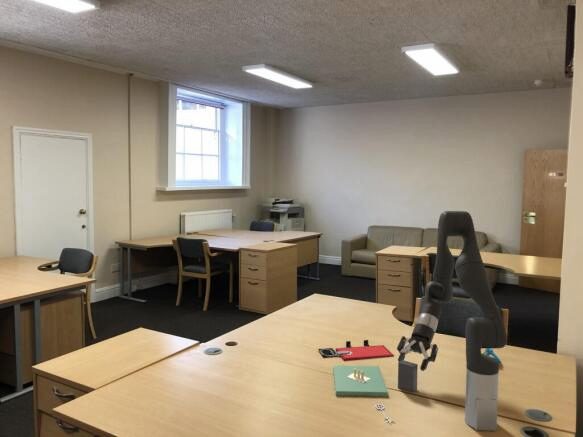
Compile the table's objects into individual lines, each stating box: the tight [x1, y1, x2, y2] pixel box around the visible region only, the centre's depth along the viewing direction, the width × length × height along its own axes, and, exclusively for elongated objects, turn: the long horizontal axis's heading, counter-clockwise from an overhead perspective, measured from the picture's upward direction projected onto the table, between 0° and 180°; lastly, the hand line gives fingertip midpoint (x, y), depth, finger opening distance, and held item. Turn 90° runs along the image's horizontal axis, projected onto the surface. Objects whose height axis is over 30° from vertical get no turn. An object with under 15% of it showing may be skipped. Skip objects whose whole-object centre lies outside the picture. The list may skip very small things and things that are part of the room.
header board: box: [332, 364, 389, 397], centre depth 169 cm, size 22×18×4 cm
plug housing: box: [397, 359, 419, 394], centre depth 163 cm, size 3×6×10 cm, turn 49°
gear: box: [481, 348, 501, 363], centre depth 189 cm, size 11×6×10 cm
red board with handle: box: [317, 339, 395, 362], centre depth 197 cm, size 30×3×15 cm
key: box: [374, 403, 392, 424], centre depth 146 cm, size 12×1×3 cm
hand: (410, 366), depth 164 cm, fingers open, 8 cm apart
